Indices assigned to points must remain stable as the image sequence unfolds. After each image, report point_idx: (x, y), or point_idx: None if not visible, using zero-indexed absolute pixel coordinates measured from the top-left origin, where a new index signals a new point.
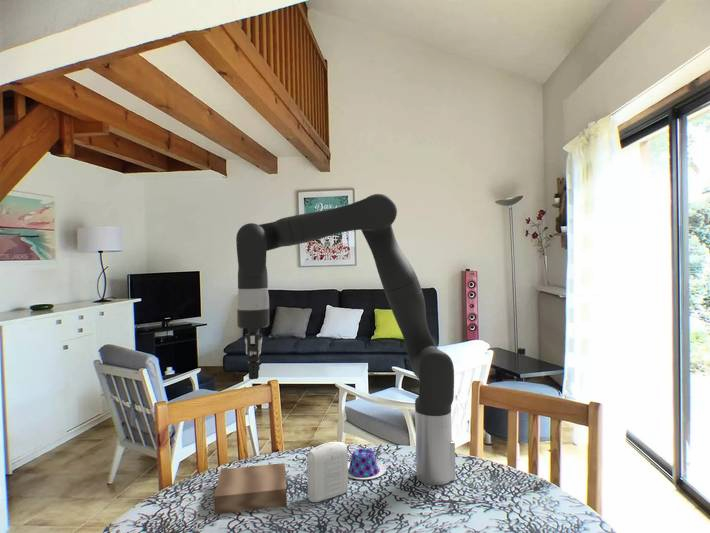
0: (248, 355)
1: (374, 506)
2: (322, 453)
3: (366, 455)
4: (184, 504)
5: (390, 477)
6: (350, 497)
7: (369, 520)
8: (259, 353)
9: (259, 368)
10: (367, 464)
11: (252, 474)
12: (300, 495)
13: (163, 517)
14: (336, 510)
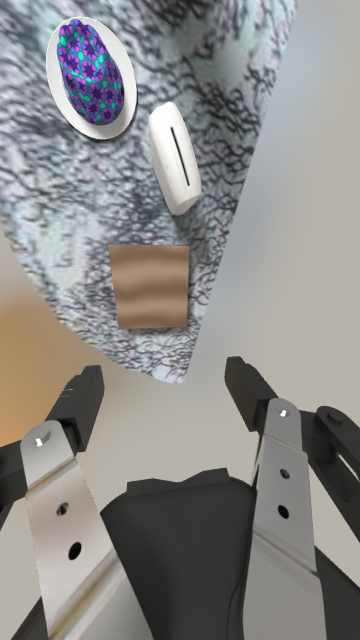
0: (349, 473)
1: (216, 113)
2: (198, 173)
3: (91, 52)
4: (158, 347)
5: (129, 28)
6: None
7: (245, 135)
8: (275, 439)
9: (97, 368)
10: (113, 67)
11: (140, 290)
12: (163, 225)
13: (177, 358)
14: (210, 179)
